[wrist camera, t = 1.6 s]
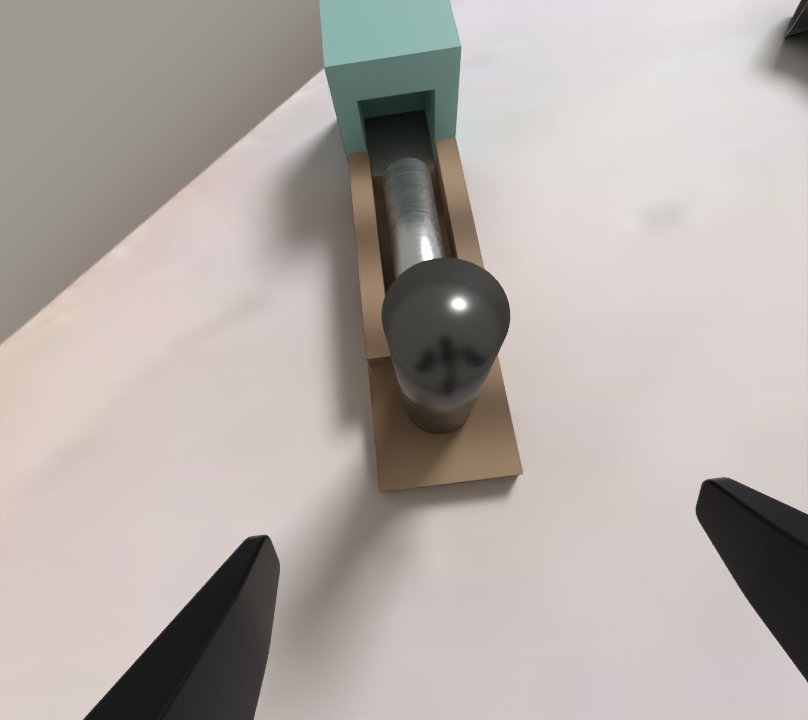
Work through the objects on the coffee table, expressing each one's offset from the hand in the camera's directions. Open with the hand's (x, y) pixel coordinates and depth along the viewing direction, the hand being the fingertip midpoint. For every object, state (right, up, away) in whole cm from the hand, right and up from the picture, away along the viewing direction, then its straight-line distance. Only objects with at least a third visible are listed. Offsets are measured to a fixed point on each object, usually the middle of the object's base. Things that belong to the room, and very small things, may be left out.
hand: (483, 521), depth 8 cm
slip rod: (-1, +7, +13) cm, 15 cm away
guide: (0, +6, +14) cm, 16 cm away
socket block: (-2, +19, +19) cm, 27 cm away
